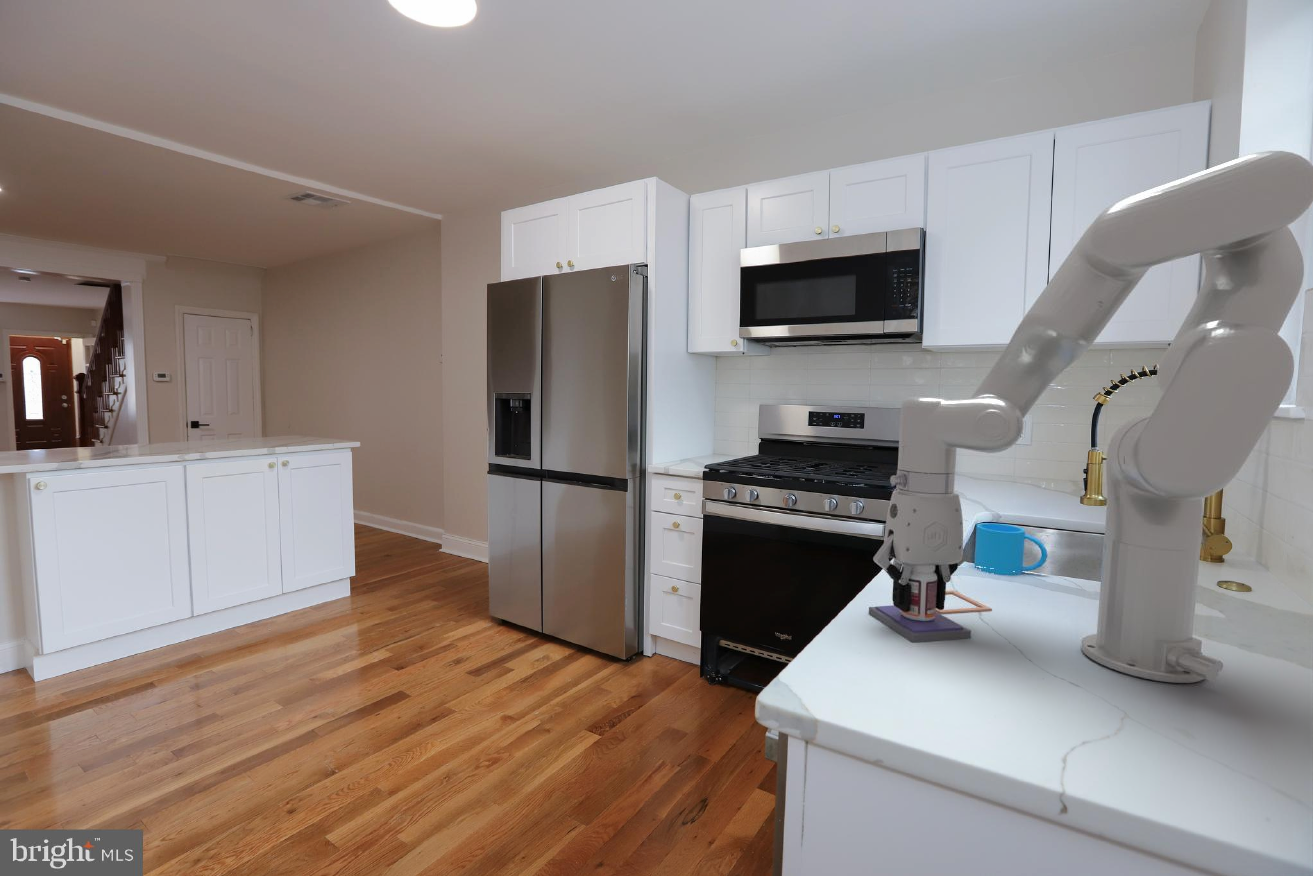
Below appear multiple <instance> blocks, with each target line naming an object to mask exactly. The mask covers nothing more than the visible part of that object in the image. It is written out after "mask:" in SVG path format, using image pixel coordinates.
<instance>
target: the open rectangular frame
mask: <svg viewBox="0 0 1313 876" xmlns="http://www.w3.org/2000/svg"><path fill="white" fill-rule="evenodd" d="M945 595H953V596H955V597H958V598H959V599H961V600H964V601H966V602H968V603H970V604H973V605H974V606H976V607H969V608H967V607H966V608H965V607H964V608H953V609H943V610H939V609H937V608H936V612H937V613H939V614H941V615H944V614H945V615H947V614H959V613H961V614H963V613H974V612H975V613H977V612H978V613H979V612H990V611H992V610H993V608H991V607H989V606H987V605H985V604H983V603H981V602H979V601H976V600H974V599H972V598H970V597H968V596H966V595H964V594H962V593H960V592H957V591H956V590H951V589H950V590H946V593H945Z"/></svg>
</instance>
